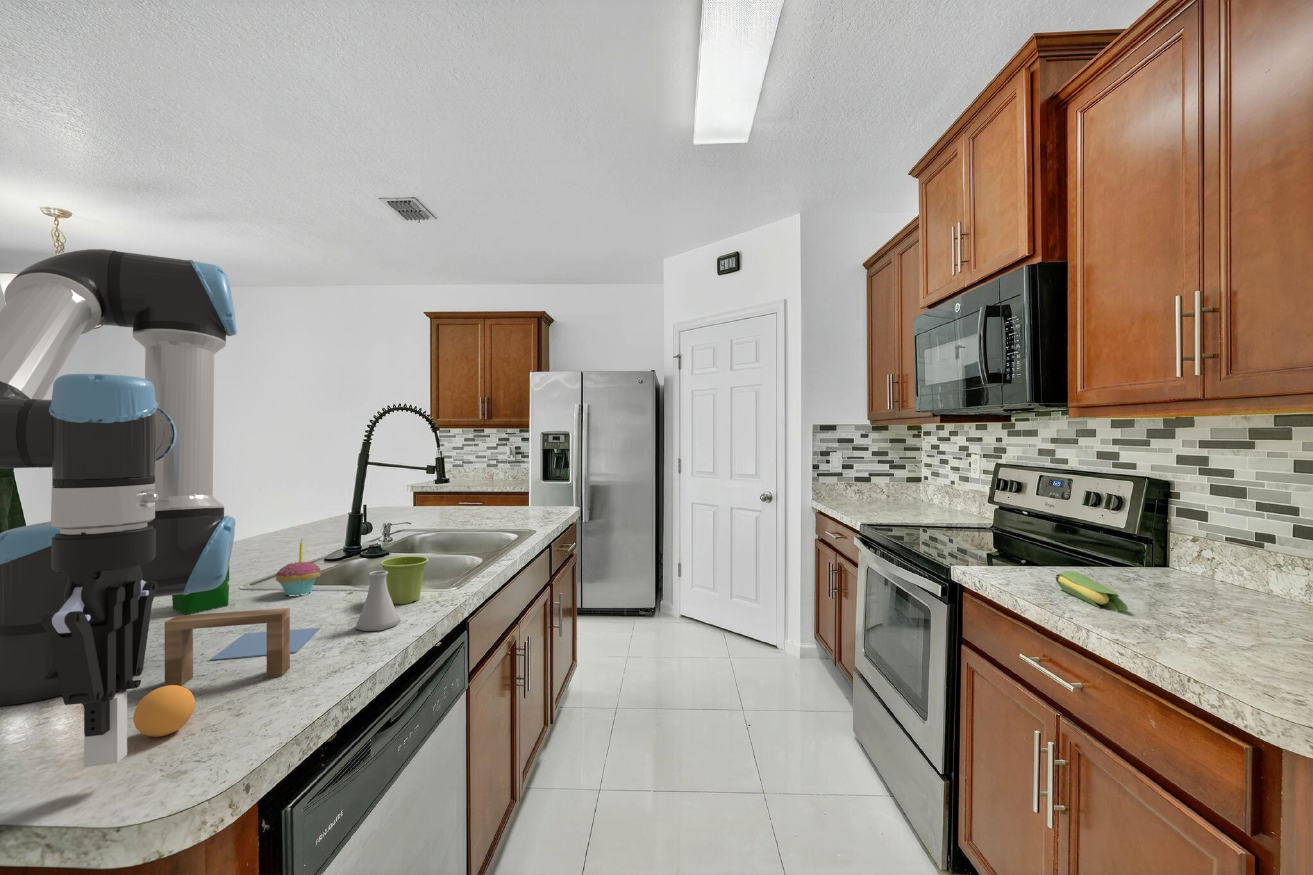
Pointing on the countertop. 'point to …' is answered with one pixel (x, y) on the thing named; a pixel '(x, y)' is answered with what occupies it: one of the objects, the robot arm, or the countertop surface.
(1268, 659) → the countertop surface
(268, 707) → the countertop surface
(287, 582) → the cupcake
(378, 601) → the flask
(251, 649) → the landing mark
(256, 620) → the bridge
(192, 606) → the milk carton
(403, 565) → the plant pot
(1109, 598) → the edible corn
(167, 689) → the ball
